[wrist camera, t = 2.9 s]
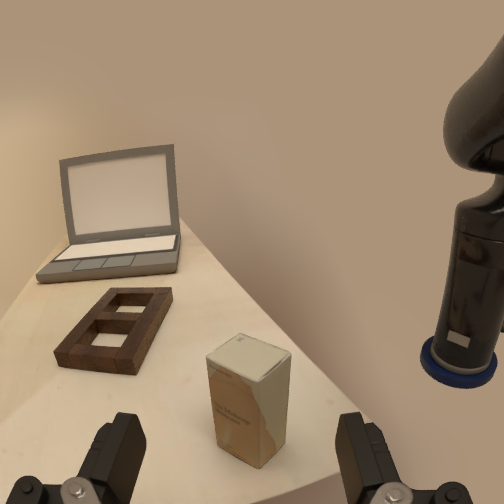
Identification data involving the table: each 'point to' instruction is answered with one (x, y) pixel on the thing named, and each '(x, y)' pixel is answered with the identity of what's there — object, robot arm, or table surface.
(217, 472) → the table surface
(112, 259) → the laptop
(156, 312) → the socket pad
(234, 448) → the box
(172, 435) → the table surface
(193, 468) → the table surface
